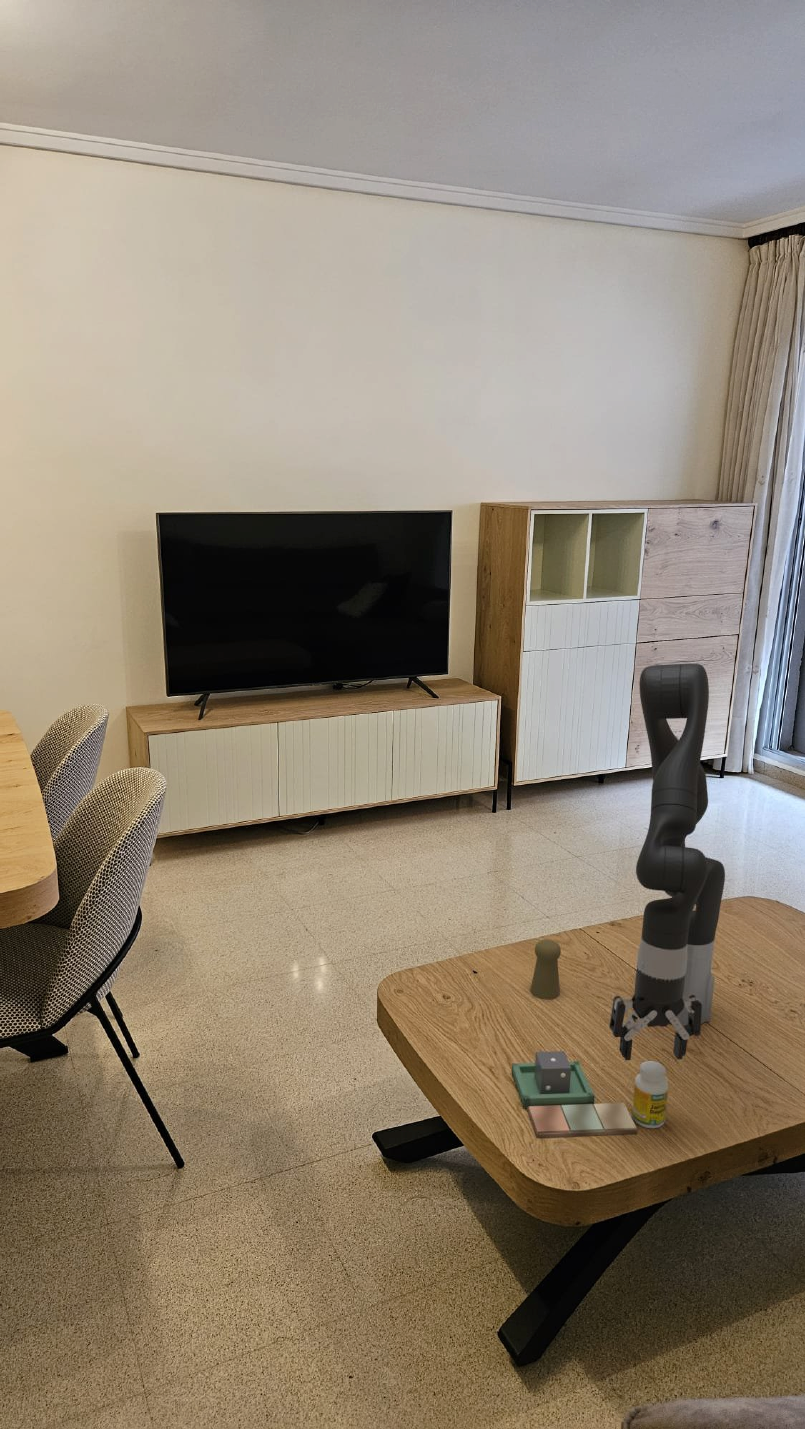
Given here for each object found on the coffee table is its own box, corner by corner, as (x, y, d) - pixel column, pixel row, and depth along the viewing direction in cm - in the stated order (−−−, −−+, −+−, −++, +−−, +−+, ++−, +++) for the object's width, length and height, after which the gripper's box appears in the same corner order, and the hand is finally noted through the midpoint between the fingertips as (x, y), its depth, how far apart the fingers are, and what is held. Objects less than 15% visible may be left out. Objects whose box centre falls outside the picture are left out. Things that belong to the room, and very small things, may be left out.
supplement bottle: (647, 1104, 166) (652, 1054, 163) (671, 1122, 161) (677, 1070, 159) (624, 1115, 163) (629, 1064, 161) (648, 1133, 159) (654, 1081, 156)
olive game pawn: (526, 995, 199) (529, 946, 197) (534, 981, 205) (537, 933, 202) (556, 1002, 197) (559, 952, 195) (563, 988, 203) (566, 939, 200)
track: (623, 1106, 165) (624, 1101, 165) (637, 1133, 159) (637, 1128, 158) (527, 1109, 164) (527, 1105, 163) (536, 1137, 157) (537, 1132, 157)
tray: (577, 1070, 175) (578, 1061, 174) (593, 1105, 165) (594, 1096, 165) (511, 1072, 174) (512, 1063, 173) (523, 1108, 164) (524, 1098, 164)
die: (563, 1076, 172) (565, 1049, 171) (571, 1094, 167) (573, 1067, 166) (534, 1077, 172) (535, 1050, 170) (540, 1095, 166) (542, 1068, 165)
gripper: (696, 954, 160) (685, 1043, 164) (610, 955, 159) (602, 1045, 162) (714, 977, 153) (703, 1069, 156) (624, 978, 151) (615, 1071, 155)
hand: (651, 1057), depth 159 cm, fingers open, 8 cm apart
